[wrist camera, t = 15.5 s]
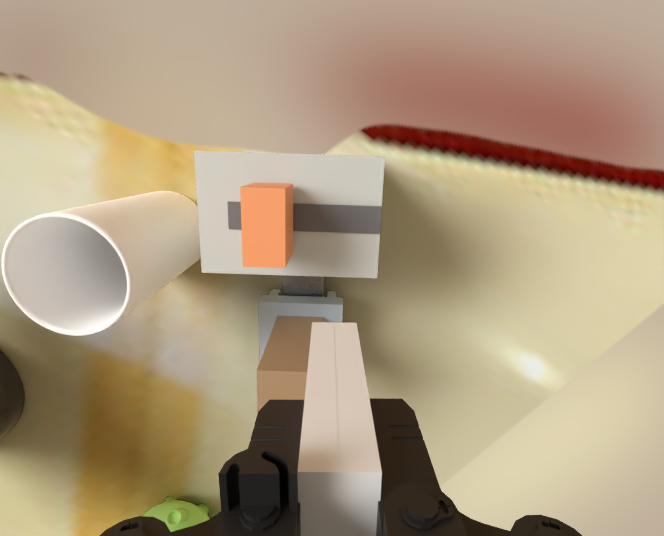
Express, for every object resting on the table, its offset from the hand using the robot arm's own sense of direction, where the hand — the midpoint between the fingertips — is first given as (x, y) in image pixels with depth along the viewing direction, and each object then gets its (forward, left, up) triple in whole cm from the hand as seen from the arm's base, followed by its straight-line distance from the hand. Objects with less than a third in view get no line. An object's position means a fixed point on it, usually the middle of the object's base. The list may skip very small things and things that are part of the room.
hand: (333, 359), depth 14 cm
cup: (-17, -1, -28) cm, 33 cm away
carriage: (-3, -10, -27) cm, 29 cm away
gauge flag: (-4, +3, -14) cm, 14 cm away
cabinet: (-3, +3, -28) cm, 28 cm away
